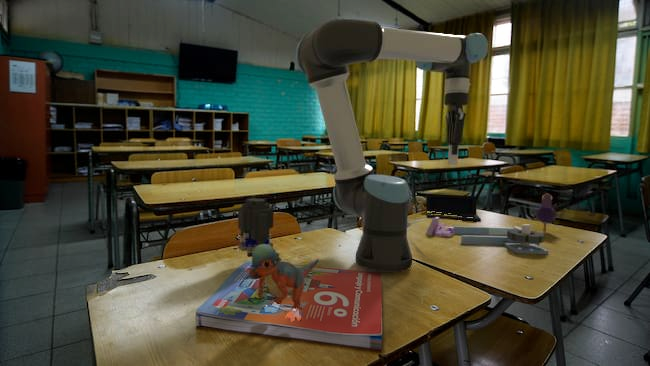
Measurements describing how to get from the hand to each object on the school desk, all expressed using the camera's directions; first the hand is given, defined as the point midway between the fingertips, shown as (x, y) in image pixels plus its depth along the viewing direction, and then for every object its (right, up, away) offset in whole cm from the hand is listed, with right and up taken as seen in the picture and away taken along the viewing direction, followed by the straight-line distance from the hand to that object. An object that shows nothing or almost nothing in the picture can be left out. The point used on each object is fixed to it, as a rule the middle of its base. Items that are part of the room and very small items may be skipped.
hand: (452, 164), depth 128 cm
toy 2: (-50, -31, -54) cm, 80 cm away
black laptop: (+11, -22, +34) cm, 42 cm away
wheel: (+17, -23, -14) cm, 32 cm away
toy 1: (-61, -26, -27) cm, 71 cm away
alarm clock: (-16, -23, +16) cm, 33 cm away
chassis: (+12, -25, -5) cm, 29 cm away
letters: (-3, -25, +4) cm, 25 cm away
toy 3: (+38, -25, +12) cm, 46 cm away
